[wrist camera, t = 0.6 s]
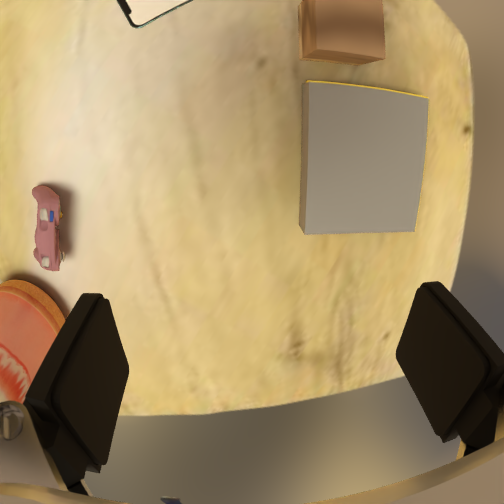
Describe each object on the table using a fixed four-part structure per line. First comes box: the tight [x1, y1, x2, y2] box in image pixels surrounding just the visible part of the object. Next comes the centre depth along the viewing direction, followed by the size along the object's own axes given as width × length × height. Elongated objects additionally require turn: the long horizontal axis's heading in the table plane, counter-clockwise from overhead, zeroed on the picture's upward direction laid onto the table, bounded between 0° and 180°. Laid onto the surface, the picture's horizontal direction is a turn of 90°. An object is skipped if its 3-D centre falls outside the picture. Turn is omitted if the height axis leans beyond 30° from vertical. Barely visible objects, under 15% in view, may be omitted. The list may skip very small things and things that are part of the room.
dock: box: [299, 80, 429, 235], centre depth 32 cm, size 16×14×3 cm
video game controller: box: [32, 185, 65, 271], centre depth 32 cm, size 10×5×7 cm, turn 165°
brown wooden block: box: [298, 0, 385, 66], centre depth 24 cm, size 6×6×7 cm
